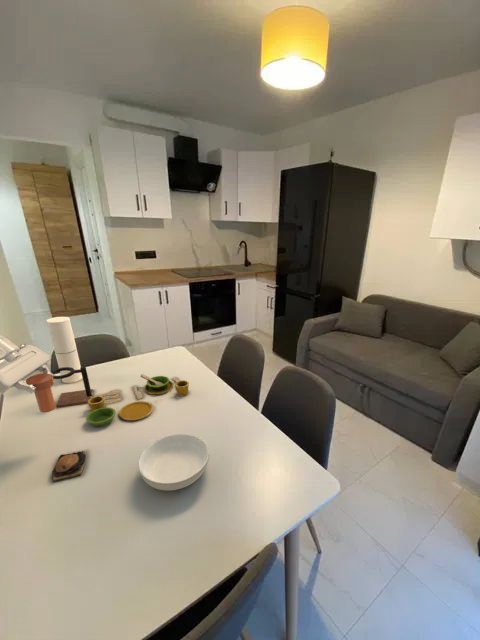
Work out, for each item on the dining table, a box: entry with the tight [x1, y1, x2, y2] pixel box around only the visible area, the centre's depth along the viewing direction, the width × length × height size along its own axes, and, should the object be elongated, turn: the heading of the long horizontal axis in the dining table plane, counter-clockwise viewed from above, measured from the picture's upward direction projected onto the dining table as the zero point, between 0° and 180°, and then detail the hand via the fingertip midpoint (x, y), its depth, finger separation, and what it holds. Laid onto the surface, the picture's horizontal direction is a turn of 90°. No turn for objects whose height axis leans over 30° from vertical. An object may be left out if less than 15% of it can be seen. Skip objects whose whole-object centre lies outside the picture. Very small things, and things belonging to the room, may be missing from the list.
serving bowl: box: [137, 433, 210, 492], centre depth 90 cm, size 21×21×7 cm
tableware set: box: [85, 373, 190, 428], centre depth 125 cm, size 41×28×6 cm
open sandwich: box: [52, 450, 87, 482], centre depth 91 cm, size 11×8×4 cm
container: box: [46, 316, 83, 384], centre depth 135 cm, size 9×9×30 cm
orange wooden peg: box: [25, 372, 57, 414], centre depth 93 cm, size 7×7×12 cm
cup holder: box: [50, 365, 94, 408], centre depth 122 cm, size 13×10×14 cm
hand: (43, 384), depth 92 cm, fingers closed on orange wooden peg, 7 cm apart
